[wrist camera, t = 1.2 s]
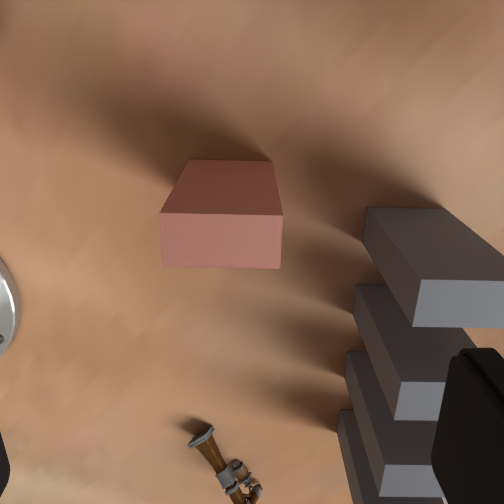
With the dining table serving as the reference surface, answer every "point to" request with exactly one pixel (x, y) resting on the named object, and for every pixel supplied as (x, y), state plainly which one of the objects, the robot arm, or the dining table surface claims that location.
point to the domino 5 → (365, 467)
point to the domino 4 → (390, 436)
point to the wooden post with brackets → (226, 470)
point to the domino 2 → (436, 267)
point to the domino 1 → (223, 216)
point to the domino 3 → (406, 353)
